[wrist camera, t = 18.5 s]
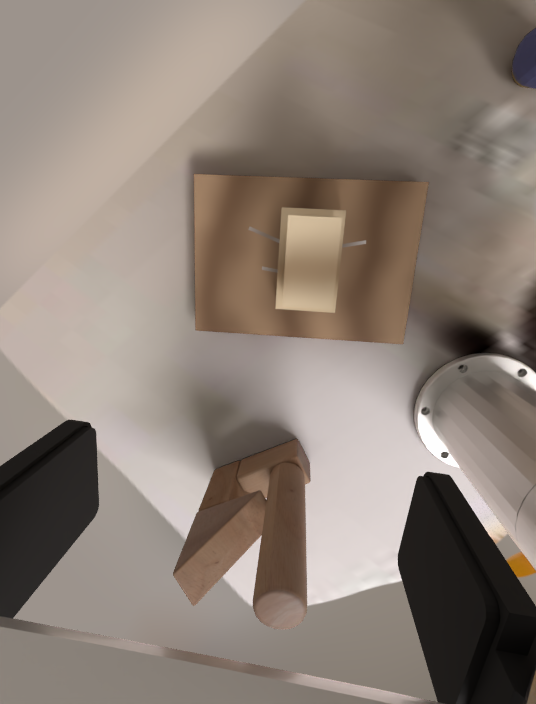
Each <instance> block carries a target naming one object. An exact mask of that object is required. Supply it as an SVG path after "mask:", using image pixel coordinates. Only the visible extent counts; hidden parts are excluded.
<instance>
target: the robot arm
mask: <svg viewBox="0 0 536 704" xmlns="http://www.w3.org/2000/svg"><path fill="white" fill-rule="evenodd" d="M460 365H461V367H460V368H459V366H460ZM424 407H425V408H424ZM422 408H424V409H422ZM414 422H415V426H416V431H417V433H418V435H419V437H420V439H421V441H422V442H423V444H424V445H425V447H426V448H427V449H428V450H429V451H430V452H431V454H432V455H434V456H435V457H436V458H438V459H439V460H440V461H442V462H444V463H446V464H449V465H451V466H454V467H458V468H460V469H461V470H462V471H463V473H464V474H465V476H466V477H467V478H468V480H469V481H470V482H471V484H472V485H473V486H474V488H475V489H476V490H477V492H478V493H479V495H480V496H481V497H482V499H483V500H484V501H485V503H486V504H487V505H488V507H489V508H490V509H491V511H492V512H493V514H494V515H495V516H496V518H497V519H498V520H499V522H500V523H501V524H502V526H503V527H504V528H505V530H506V531H507V533H508V534H509V535H510V537H511V538H512V539H513V541H514V542H515V543H516V545H517V546H518V547H519V549H520V550H521V552H522V553H523V554H524V555H525V556H526V558H527V559H528V561H529V562H530V563H531V565H532V566H533V567H534V569H535V570H536V373H535V372H534V371H533V370H532V369H531V368H530V367H528V366H526V365H525V364H523V363H522V362H520V361H518V360H516V359H513V358H511V357H509V356H505V355H501V354H495V353H478V354H471V355H467V356H464V357H460V358H458V359H455V360H453V361H451V362H449V363H447V364H446V365H444V366H443V367H441V368H440V369H438V370H437V371H436V372H435V373H434V374H433V375H432V376H431V377H430V378H429V379H428V380H427V382H426V383H425V384H424V386H423V387H422V389H421V391H420V393H419V395H418V397H417V400H416V404H415V409H414ZM98 507H99V494H98V471H97V443H96V431H95V429H94V428H92V427H91V425H90V423H88V422H83V421H76V420H67V421H65V422H64V423H62V424H61V425H59V426H58V427H56V428H55V429H53V430H52V431H51V432H49V433H48V434H46V435H45V436H43V437H42V438H40V439H39V440H38V441H36V442H35V443H33V444H32V445H30V446H29V447H27V448H26V449H25V450H23V451H22V452H20V453H19V454H17V455H16V456H14V457H13V458H11V459H10V460H9V461H7V462H6V463H4V464H3V465H1V466H0V704H536V606H535V604H534V603H533V601H532V600H531V598H530V597H529V595H528V594H527V592H526V591H525V589H524V588H523V586H522V585H521V583H520V581H519V580H518V578H517V577H516V575H515V574H514V572H513V571H512V569H511V568H510V566H509V564H508V563H507V561H506V560H505V558H504V557H503V555H502V554H501V552H500V551H499V549H498V548H497V546H496V544H495V543H494V541H493V540H492V538H491V537H490V536H489V535H488V533H487V531H486V530H485V528H484V527H483V525H482V524H481V522H480V521H479V519H478V518H477V516H476V515H475V513H474V511H473V510H472V508H471V507H470V505H469V504H468V502H467V501H466V499H465V498H464V496H463V494H462V493H461V491H460V490H459V488H458V487H457V485H456V484H455V482H454V481H453V479H452V478H451V476H450V475H446V474H440V473H433V472H426V473H425V474H424V477H423V476H419V477H418V478H417V481H416V485H415V489H414V493H413V497H412V501H411V505H410V509H409V513H408V517H407V521H406V525H405V529H404V533H403V537H402V541H401V545H400V549H399V553H398V567H399V571H400V574H401V578H402V581H403V584H404V588H405V591H406V595H407V598H408V602H409V605H410V609H411V612H412V615H413V619H414V622H415V625H416V629H417V632H418V636H419V639H420V643H421V646H422V650H423V653H424V656H425V660H426V663H427V667H428V670H429V673H430V677H431V680H432V684H433V687H434V691H435V694H436V697H437V701H438V702H434V701H430V700H425V699H420V698H415V697H412V696H407V695H402V694H398V693H393V692H389V691H384V690H379V689H375V688H370V687H364V686H360V685H354V684H349V683H345V682H340V681H335V680H330V679H325V678H319V677H315V676H310V675H305V674H300V673H294V672H289V671H284V670H279V669H274V668H270V667H265V666H260V665H255V664H249V663H244V662H239V661H234V660H229V659H224V658H218V657H213V656H208V655H203V654H197V653H193V652H187V651H182V650H177V649H172V648H167V647H161V646H156V645H151V644H146V643H141V642H135V641H129V640H125V639H120V638H114V637H109V636H104V635H99V634H93V633H88V632H82V631H77V630H72V629H66V628H61V627H55V626H50V625H45V624H39V623H33V622H28V621H23V620H18V619H13V617H14V616H15V615H16V614H17V613H18V611H19V610H20V609H21V608H22V606H23V605H24V604H25V603H26V601H27V600H28V599H29V598H30V596H31V595H32V594H33V593H34V591H35V590H36V589H37V588H38V587H39V585H40V584H41V583H42V582H43V580H44V579H45V578H46V577H47V575H48V574H49V573H50V572H51V570H52V569H53V568H54V567H55V566H56V564H57V563H58V562H59V561H60V559H61V558H62V557H63V556H64V554H65V553H66V552H67V551H68V549H69V548H70V547H71V546H72V544H73V543H74V542H75V541H76V540H77V538H78V537H79V536H80V534H81V533H82V532H83V531H84V530H85V528H86V527H87V526H88V525H89V523H90V522H91V521H92V520H93V519H94V517H95V515H96V513H97V511H98Z"/></svg>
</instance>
